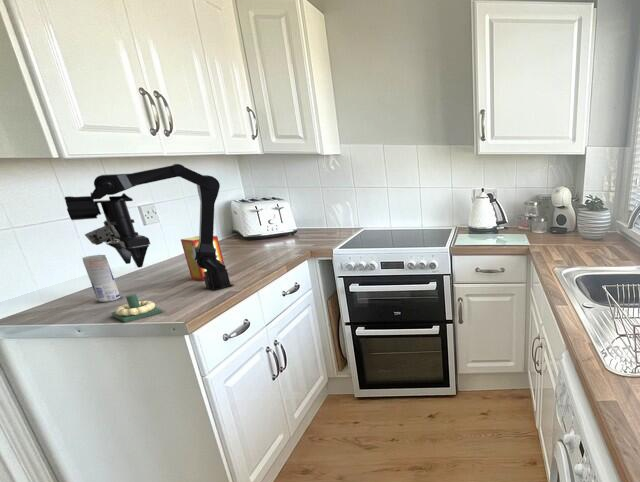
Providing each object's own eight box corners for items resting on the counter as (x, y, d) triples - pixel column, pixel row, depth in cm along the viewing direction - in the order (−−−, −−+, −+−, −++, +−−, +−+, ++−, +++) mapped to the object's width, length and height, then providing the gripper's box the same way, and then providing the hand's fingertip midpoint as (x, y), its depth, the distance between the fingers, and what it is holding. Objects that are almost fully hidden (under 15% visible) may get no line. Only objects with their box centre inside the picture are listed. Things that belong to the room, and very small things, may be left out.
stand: (149, 307, 132) (142, 289, 129) (161, 312, 127) (155, 293, 125) (112, 316, 124) (105, 297, 122) (124, 322, 120) (117, 302, 118)
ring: (148, 304, 131) (146, 298, 130) (161, 309, 127) (159, 303, 126) (111, 313, 124) (109, 307, 123) (124, 318, 119) (121, 312, 119)
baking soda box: (203, 280, 159) (191, 239, 153) (191, 279, 161) (180, 238, 156) (226, 274, 167) (216, 235, 162) (215, 272, 169) (205, 234, 164)
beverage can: (125, 297, 141) (110, 254, 136) (108, 302, 136) (92, 258, 131) (110, 296, 142) (94, 254, 136) (93, 302, 136) (76, 258, 131)
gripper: (72, 218, 127) (90, 267, 132) (94, 222, 118) (113, 275, 123) (118, 213, 136) (133, 259, 141) (143, 217, 127) (158, 267, 132)
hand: (134, 265), depth 134 cm, fingers open, 9 cm apart
